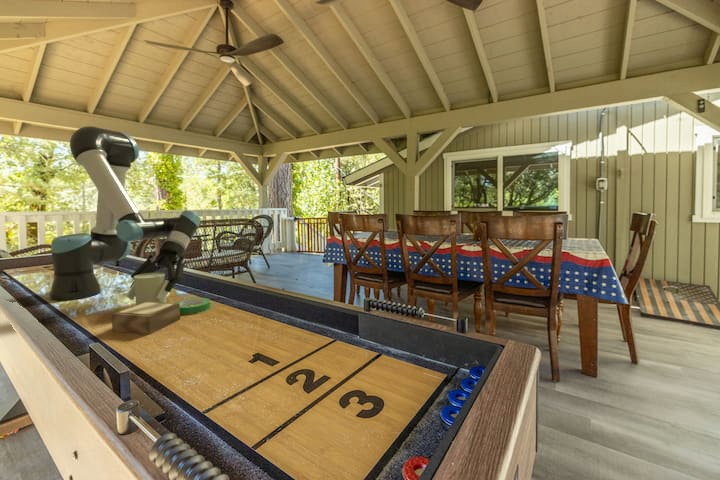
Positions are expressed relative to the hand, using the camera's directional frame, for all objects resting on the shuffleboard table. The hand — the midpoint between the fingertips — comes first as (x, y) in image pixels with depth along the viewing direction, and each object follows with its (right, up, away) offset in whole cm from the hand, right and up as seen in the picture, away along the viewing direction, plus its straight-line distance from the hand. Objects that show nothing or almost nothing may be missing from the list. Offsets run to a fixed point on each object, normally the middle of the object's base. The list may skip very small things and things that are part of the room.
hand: (144, 298), depth 112 cm
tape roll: (+15, -4, +3) cm, 16 cm away
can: (0, -4, +3) cm, 5 cm away
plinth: (+9, -6, -12) cm, 16 cm away
